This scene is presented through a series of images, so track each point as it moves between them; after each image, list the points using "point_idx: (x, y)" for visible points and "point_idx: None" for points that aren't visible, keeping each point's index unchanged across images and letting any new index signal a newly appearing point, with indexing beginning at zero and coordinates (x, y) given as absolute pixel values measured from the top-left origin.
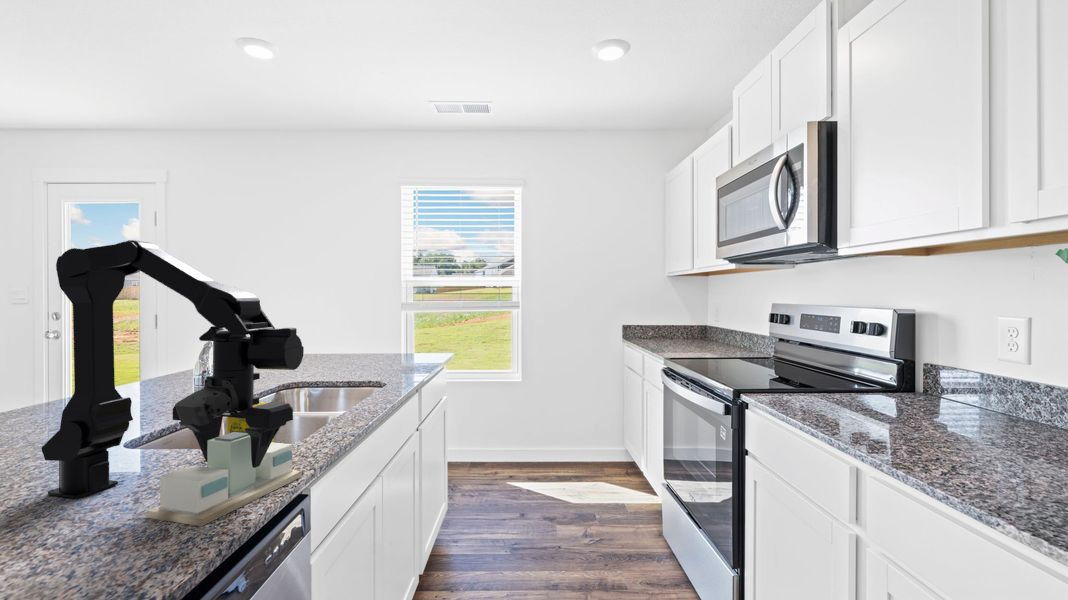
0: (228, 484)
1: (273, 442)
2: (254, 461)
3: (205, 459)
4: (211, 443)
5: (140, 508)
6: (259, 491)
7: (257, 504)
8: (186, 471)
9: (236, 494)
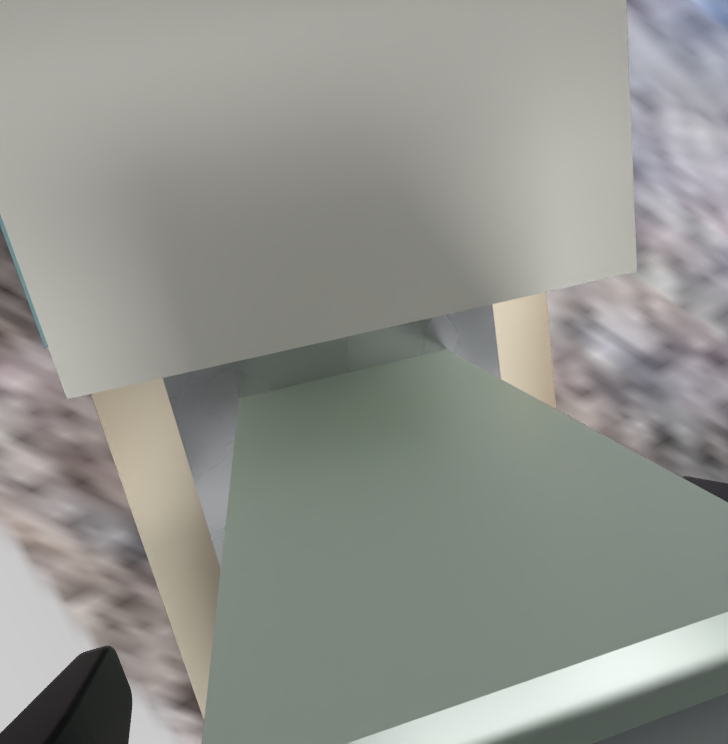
0: (257, 416)
1: None
2: (32, 710)
3: (705, 482)
4: (706, 567)
5: (663, 61)
6: (144, 545)
7: (47, 457)
8: (487, 87)
9: (184, 414)
